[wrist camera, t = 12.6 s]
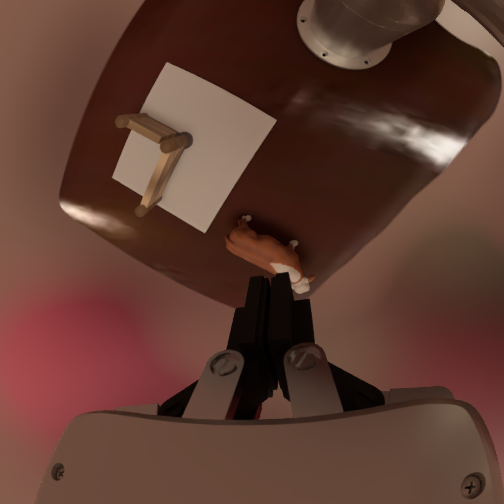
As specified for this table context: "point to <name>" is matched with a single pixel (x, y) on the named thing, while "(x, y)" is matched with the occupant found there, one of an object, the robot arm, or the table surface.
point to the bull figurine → (268, 254)
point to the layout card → (195, 144)
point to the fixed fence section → (145, 126)
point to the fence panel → (162, 172)
